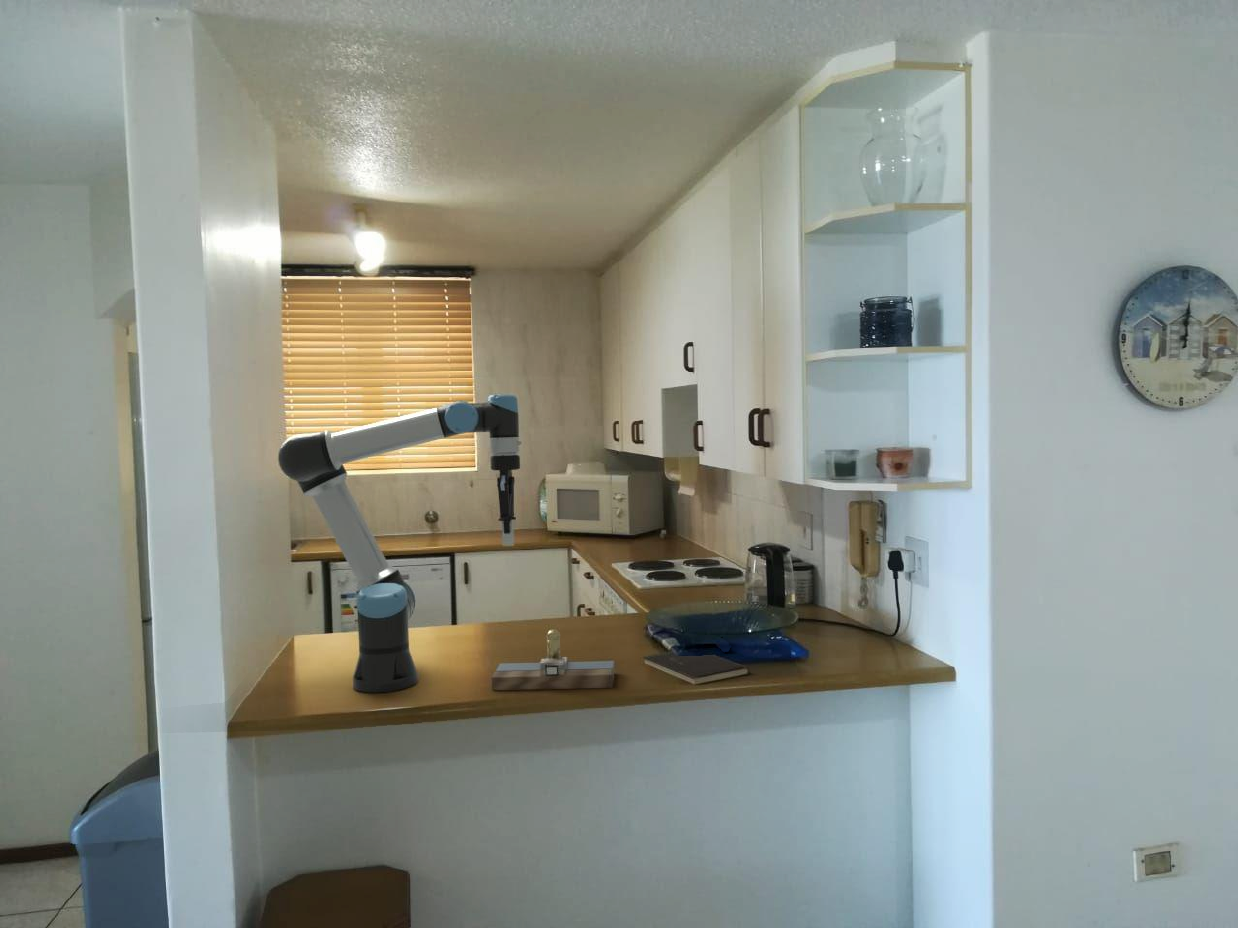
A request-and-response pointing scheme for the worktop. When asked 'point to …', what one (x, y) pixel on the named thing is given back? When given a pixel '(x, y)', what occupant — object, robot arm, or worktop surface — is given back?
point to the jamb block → (552, 678)
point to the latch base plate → (567, 666)
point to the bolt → (553, 649)
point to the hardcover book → (696, 667)
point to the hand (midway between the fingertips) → (508, 545)
